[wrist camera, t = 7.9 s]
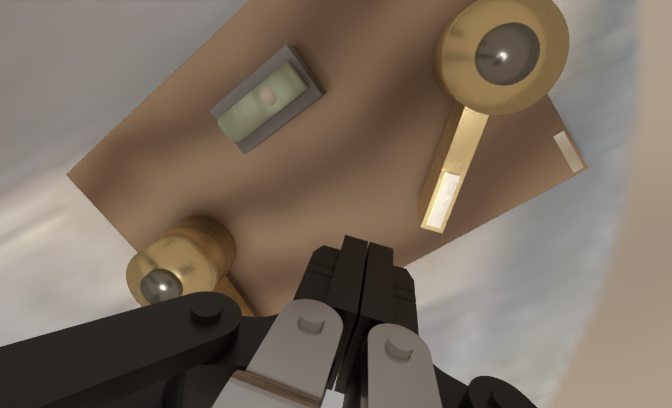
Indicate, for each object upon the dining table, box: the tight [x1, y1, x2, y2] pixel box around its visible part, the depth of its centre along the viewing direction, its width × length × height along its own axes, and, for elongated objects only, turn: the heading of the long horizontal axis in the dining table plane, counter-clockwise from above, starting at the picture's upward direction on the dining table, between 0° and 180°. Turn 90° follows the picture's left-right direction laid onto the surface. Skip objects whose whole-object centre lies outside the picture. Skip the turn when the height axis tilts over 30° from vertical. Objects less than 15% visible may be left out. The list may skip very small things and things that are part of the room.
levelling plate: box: [66, 0, 588, 317], centre depth 24 cm, size 19×29×5 cm, turn 126°
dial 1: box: [126, 216, 255, 317], centre depth 26 cm, size 12×5×6 cm, turn 30°
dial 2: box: [417, 0, 569, 233], centre depth 19 cm, size 12×5×6 cm, turn 166°
